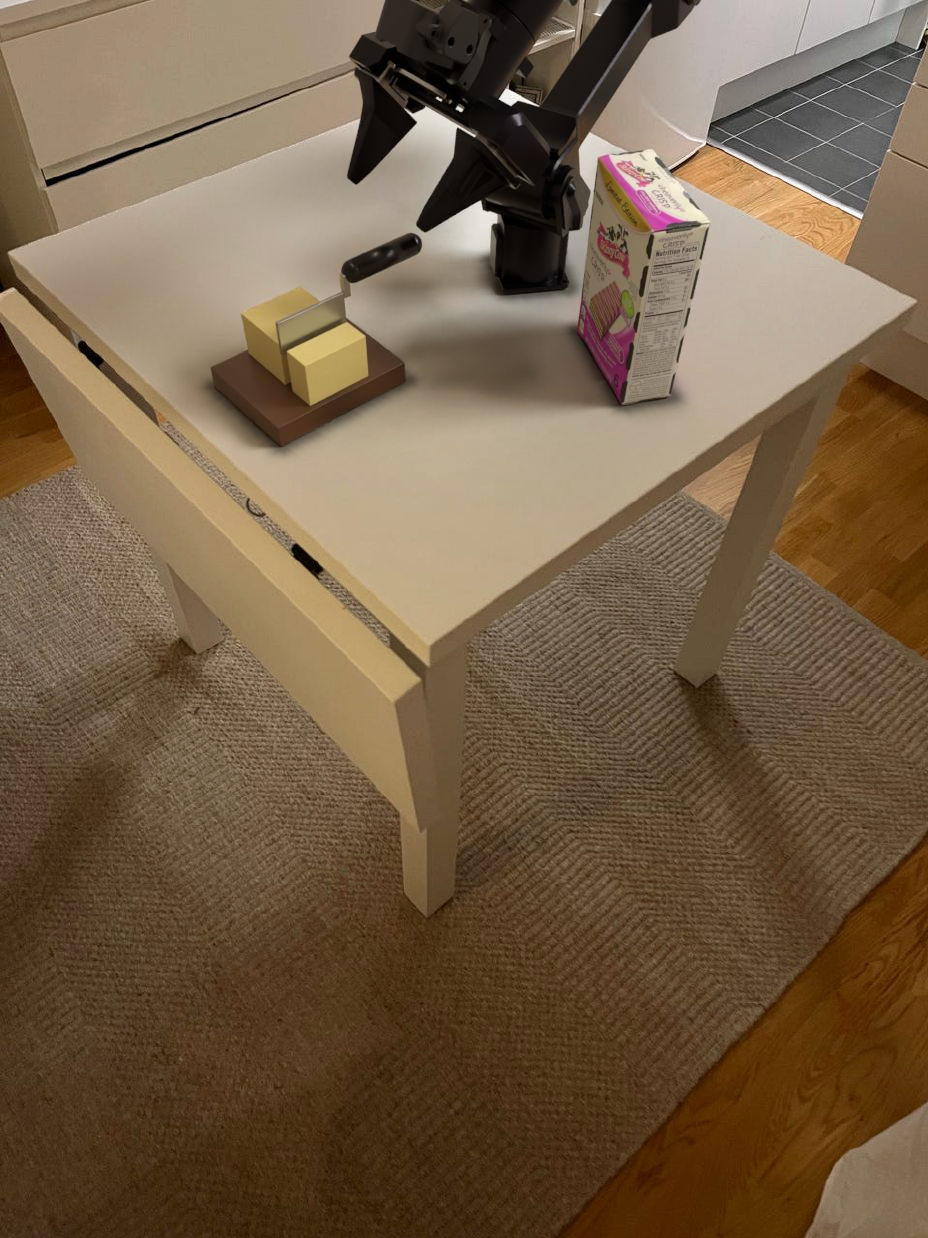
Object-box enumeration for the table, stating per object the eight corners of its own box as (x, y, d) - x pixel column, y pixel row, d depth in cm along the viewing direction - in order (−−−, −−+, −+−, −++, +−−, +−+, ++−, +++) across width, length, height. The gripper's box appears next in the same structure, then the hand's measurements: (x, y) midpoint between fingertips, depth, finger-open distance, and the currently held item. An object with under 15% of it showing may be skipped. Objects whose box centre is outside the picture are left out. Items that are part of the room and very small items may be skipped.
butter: (305, 326, 84) (300, 285, 81) (368, 376, 80) (365, 335, 77) (248, 353, 82) (240, 312, 79) (310, 406, 78) (304, 366, 75)
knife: (414, 283, 83) (412, 225, 79) (427, 292, 82) (426, 234, 78) (274, 349, 77) (265, 291, 73) (287, 360, 76) (278, 302, 72)
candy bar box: (572, 331, 88) (594, 153, 75) (623, 323, 89) (654, 145, 76) (618, 409, 81) (651, 228, 68) (672, 399, 82) (715, 219, 69)
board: (336, 327, 88) (334, 308, 86) (405, 381, 83) (405, 362, 82) (214, 386, 82) (209, 367, 81) (281, 447, 78) (277, 428, 76)
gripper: (365, -96, 69) (249, 101, 73) (536, -20, 60) (395, 200, 64) (448, 8, 78) (342, 178, 82) (607, 87, 69) (480, 274, 73)
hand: (384, 204), depth 75 cm, fingers open, 9 cm apart
